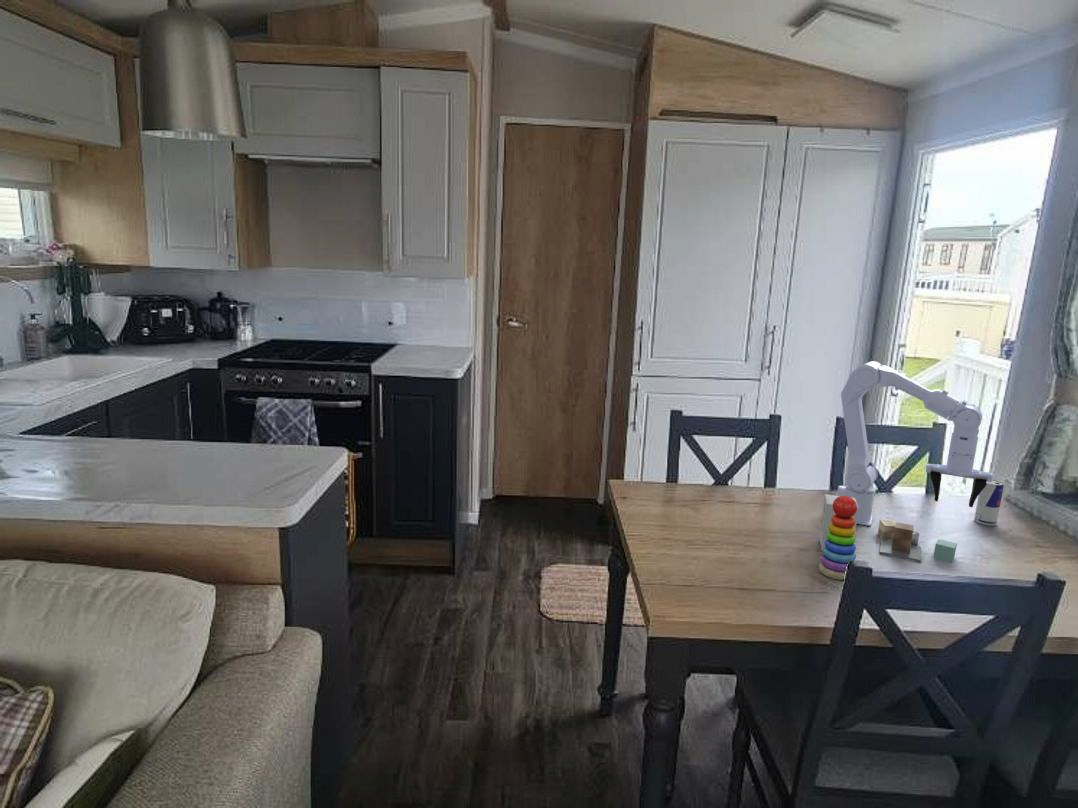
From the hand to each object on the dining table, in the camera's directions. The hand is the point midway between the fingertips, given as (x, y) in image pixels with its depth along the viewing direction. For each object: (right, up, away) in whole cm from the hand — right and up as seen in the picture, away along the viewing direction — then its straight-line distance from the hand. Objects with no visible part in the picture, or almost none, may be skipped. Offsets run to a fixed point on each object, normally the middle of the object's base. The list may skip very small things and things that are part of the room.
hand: (953, 503), depth 176 cm
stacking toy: (-38, -14, -18) cm, 45 cm away
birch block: (-15, -10, +3) cm, 18 cm away
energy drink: (+19, -8, +16) cm, 26 cm away
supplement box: (-32, -11, -4) cm, 34 cm away
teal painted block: (-7, -12, -8) cm, 17 cm away
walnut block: (-16, -11, -5) cm, 20 cm away
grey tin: (-11, -10, 0) cm, 15 cm away
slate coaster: (-16, -11, -5) cm, 21 cm away
